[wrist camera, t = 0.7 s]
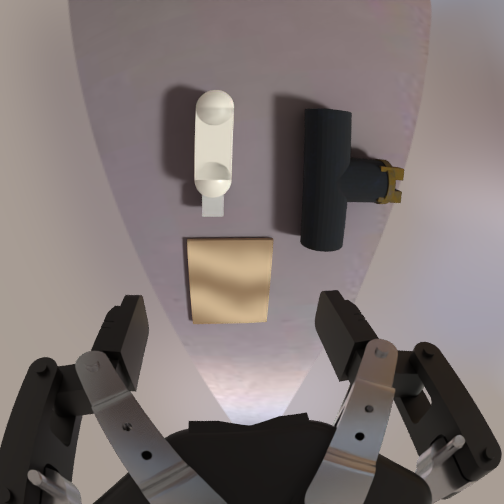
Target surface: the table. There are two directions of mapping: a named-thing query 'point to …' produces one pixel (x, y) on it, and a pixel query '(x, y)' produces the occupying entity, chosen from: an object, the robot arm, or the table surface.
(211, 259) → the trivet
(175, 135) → the table surface
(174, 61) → the table surface
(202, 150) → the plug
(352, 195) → the pipe connector
